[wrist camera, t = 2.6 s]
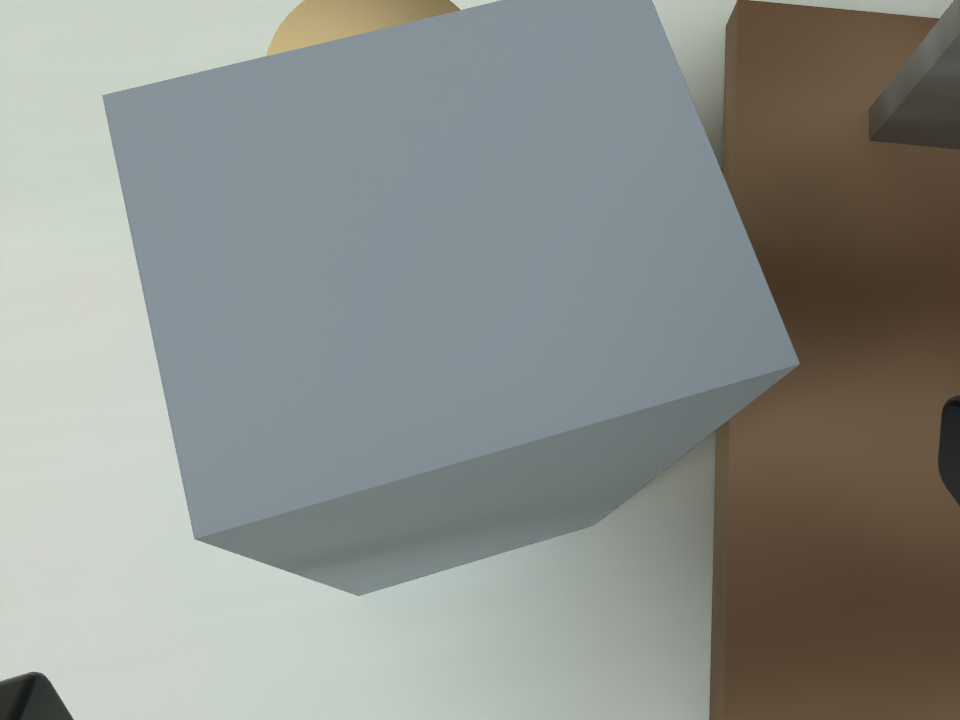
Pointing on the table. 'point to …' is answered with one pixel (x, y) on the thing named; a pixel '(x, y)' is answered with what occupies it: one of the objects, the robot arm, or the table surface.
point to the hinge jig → (843, 370)
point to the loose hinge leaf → (437, 280)
